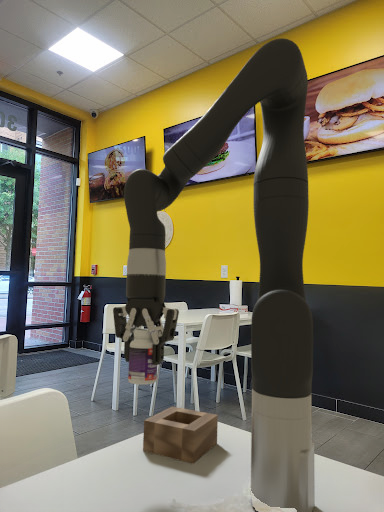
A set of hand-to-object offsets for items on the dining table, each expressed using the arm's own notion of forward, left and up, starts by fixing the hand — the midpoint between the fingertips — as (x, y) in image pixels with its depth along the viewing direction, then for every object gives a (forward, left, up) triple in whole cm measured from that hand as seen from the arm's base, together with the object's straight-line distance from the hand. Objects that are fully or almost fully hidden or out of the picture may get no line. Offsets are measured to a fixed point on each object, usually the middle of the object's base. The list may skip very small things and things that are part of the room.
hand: (143, 362), depth 70 cm
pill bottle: (0, 0, -4) cm, 4 cm away
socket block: (-2, -13, -19) cm, 23 cm away
